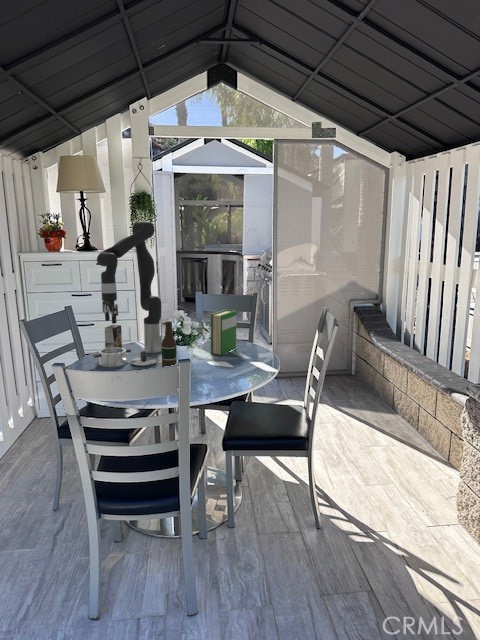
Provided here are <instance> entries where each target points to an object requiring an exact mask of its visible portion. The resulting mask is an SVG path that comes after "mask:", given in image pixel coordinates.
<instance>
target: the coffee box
mask: <svg viewBox="0 0 480 640" xmlns="http://www.w3.org/2000/svg"><path fill="white" fill-rule="evenodd" d="M122 336H123V335H122V325H120V324H119V325H117V324H111V325H108V326H106V327H104V346H105V347H104V348H112V347H118V348H123V339H122Z"/></svg>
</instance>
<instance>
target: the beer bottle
mask: <svg viewBox="0 0 480 640" xmlns="http://www.w3.org/2000/svg"><path fill="white" fill-rule="evenodd" d="M164 325H165V330H164V331H165V332H164V338H163V339H162V346H161V347H162V351H161V366H162V368H164V367H163V366H171V365H175V364H178V363H177V359H178V357H177V354H178V353H177V341H176V338H175V337H174V335H173V322H172V321H171V320H169V321H165V323H164Z"/></svg>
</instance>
